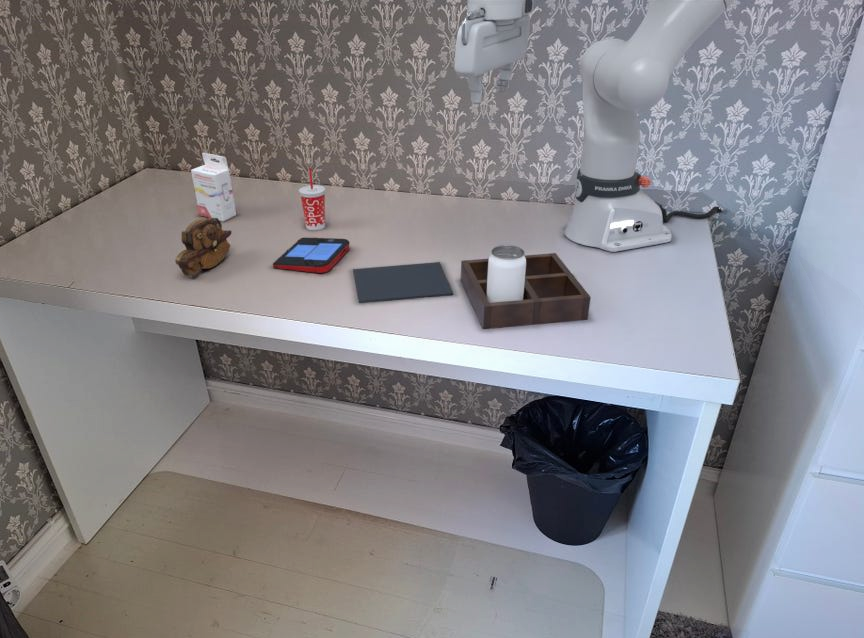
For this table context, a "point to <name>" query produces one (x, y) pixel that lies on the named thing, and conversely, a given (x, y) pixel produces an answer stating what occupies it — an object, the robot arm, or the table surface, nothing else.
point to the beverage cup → (313, 205)
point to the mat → (401, 282)
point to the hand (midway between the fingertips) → (490, 96)
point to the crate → (528, 294)
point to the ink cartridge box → (214, 188)
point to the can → (506, 274)
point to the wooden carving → (203, 245)
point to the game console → (313, 255)
